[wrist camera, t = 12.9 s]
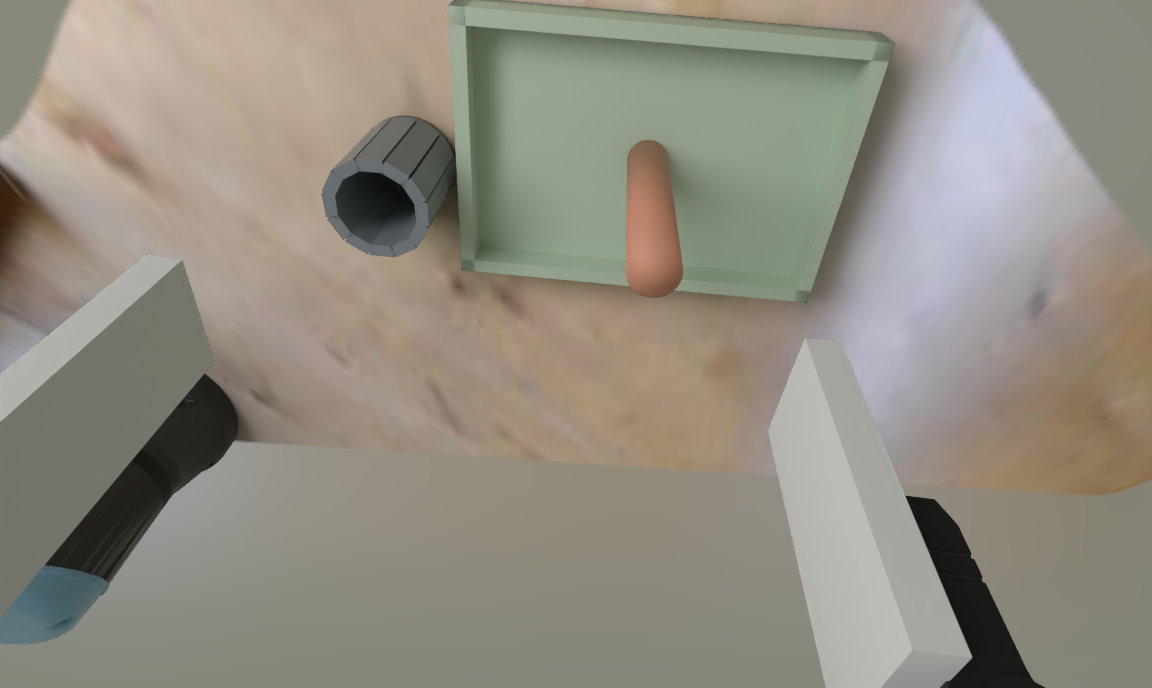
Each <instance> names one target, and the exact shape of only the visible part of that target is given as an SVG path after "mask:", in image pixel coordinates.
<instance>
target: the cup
mask: <svg viewBox="0 0 1152 688" xmlns="http://www.w3.org/2000/svg"><path fill="white" fill-rule="evenodd" d="M455 177H456V159H455V155H454V152H453V149H452V147H451V145H450V144H449V142H448V141H447V139H446V138H445V136H444V135H443V134H442V133H441V132H440V131H439V130H438V129H437V128H435V127H434V126H433V125H431V124H429V123H428V122H426V121H424V120H421V119H419V118H415V117H411V116H395V117H391V118H388V119H386V120H384V121H382V122H381V123H379V124H378V125H377V126H375V127H373V128H372V129H371V130H370V131H369V132H368V133H367V134H366V135H365V136H364V137H363V138H362V139H361V140H360V141H359V142H358V143H357V144H356V146H355V147H354V148H353V149H352V150H351V151H350V152H349V153H348V154H347V155H346V156H345V157H344V158H343V159H342V160H341V161H340V162H339V163H338V164H337V165H336V166H335V167H334V168H333V169H332V170H331V172H330V174H329V176H328V179H327V181H326V183H325V185H324V188H323V190H322V191H323V193H322V197H323V203H324V208H325V213H326V217H329V218H328V221H329V222H330V223H331V225H332V226H333V227H334V229H335V230H336V231H337V232H338V234H339V235H340V236H341V238H342V239H343V240H344V239H346V238H347V239H346V241H345V242H347V243H349V244H351V245H352V246H354V247H356V248H358V249H359V250H361V251H363V252H365V253H367V254H368V253H369V252H370V255H376V256H386V257H395V255H396V257H397V256H400V255H402V254H404V253H406V252H409V251H411V250H413V249H416V248H417V246H419V244H420V242H421V241H422V239H423V237H424V235H425V234H426V232H427V230H428V229H429V227H430V225H431V223H432V221H433V220H434V218H435V216H436V214H437V212H438V211H439V209H440V207H441V205H442V204H443V202H444V200H445V198H446V196H447V195H448V193H449V191H450V189H451V187H452V186H453V184H454V182H455Z"/></svg>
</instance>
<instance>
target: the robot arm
mask: <svg viewBox="0 0 1152 688" xmlns="http://www.w3.org/2000/svg"><path fill="white" fill-rule="evenodd" d="M213 362H214V358H213V355H212V352H211V349H210V345H209V342H208V339H207V336H206V333H205V330H204V327H203V323H202V320H201V317H200V314H199V311H198V308H197V305H196V301H195V298H194V295H193V292H192V289H191V286H190V283H189V279H188V276H187V273H186V270H185V267H184V264H183V261H182V260H180V259H172V258H165V257H157V256H149V255H145V256H144V257H143V258H142V259H141V260H139V261H138V262H137V263H136V264H134V265H133V266H132V267H131V268H130V269H128V270H127V271H126V272H125V273H123V274H122V275H121V276H120V277H119V278H117V279H116V280H115V281H114V282H112V283H111V284H110V285H109V286H108V287H106V288H105V289H104V290H103V291H101V292H100V293H99V294H98V295H96V296H95V297H94V298H93V299H92V300H90V301H89V302H88V303H87V304H85V305H84V306H83V307H82V308H81V309H79V310H78V311H77V312H76V313H74V314H73V315H72V316H71V317H70V318H68V319H67V320H66V321H65V322H63V323H62V324H61V325H60V326H58V327H57V328H56V329H55V330H54V331H52V332H51V333H50V334H49V335H47V336H46V337H45V338H44V339H43V340H41V341H40V342H39V343H38V344H36V345H35V346H34V347H33V348H32V349H30V350H29V351H28V352H27V353H25V354H24V355H23V356H22V357H21V358H19V359H18V360H17V361H16V362H14V363H13V364H12V365H11V366H9V367H8V368H7V369H6V370H5V371H3V372H2V373H1V374H0V643H2V644H33V643H39V642H44V641H49V640H52V639H55V638H57V637H59V636H61V635H63V634H65V633H67V632H68V631H69V630H70V629H72V628H73V627H74V626H75V625H76V624H77V623H78V622H79V621H80V619H81V618H82V617H83V616H84V615H85V613H86V612H87V611H88V610H89V608H90V607H91V606H92V604H94V602H95V601H96V600H97V599H98V597H99V596H101V595H103V594H104V593H105V592H106V590H107V589H108V587H109V583H110V582H111V581H112V579H113V578H114V576H115V575H116V574H117V572H118V571H119V569H120V568H121V566H122V565H123V564H124V562H125V561H126V559H127V558H128V557H129V555H130V554H131V552H132V551H133V550H134V548H135V546H136V545H137V544H138V542H139V541H140V540H141V538H142V537H143V535H144V534H145V533H146V531H147V530H148V528H149V527H150V526H151V524H152V522H153V521H154V520H155V518H156V517H157V516H158V514H159V513H160V511H161V510H162V509H163V507H164V506H165V505H166V503H167V502H168V500H169V499H170V498H171V496H172V495H173V494H174V493H176V492H177V491H178V490H180V489H181V488H182V487H184V486H185V485H186V484H187V483H189V482H190V481H191V480H192V479H193V478H195V477H196V476H197V475H198V474H200V473H201V472H202V471H205V470H207V469H209V468H210V467H212V466H213V465H215V464H216V463H217V462H218V461H219V460H220V459H221V458H222V457H223V456H224V454H225V453H226V451H227V450H228V449H229V447H230V446H231V444H232V443H233V441H234V440H235V437H236V434H237V428H238V425H237V418H236V415H235V412H234V410H233V408H232V406H231V404H230V402H229V400H228V399H227V398H226V396H225V395H224V394H223V392H222V391H221V390H220V389H219V388H218V387H217V386H216V385H215V384H214V383H213V382H212V381H211V380H210V379H208V378H207V377H206V376H205V375H203V374H204V373H205V372H206V371H207V370H208V368H209V367H210V366H211V365H212V364H213ZM768 433H769V437H770V442H771V446H772V451H773V455H774V460H775V464H776V469H777V473H778V477H779V481H780V486H781V491H782V495H783V500H784V504H785V509H786V513H787V517H788V522H789V526H790V531H791V535H792V540H793V544H794V548H795V553H796V557H797V562H798V566H799V571H800V575H801V579H802V584H803V589H804V593H805V597H806V602H807V606H808V611H809V615H810V620H811V624H812V629H813V633H814V637H815V642H816V646H817V651H818V655H819V660H820V663H821V669H822V673H823V677H824V682H825V686H826V688H1045V687H1043V686H1041V685H1039V684H1037V683H1036V682H1034V681H1033V679H1032V678H1031V676H1030V674H1029V672H1028V671H1027V669H1026V667H1025V665H1024V663H1023V661H1022V659H1021V657H1020V654H1019V652H1018V650H1017V648H1016V646H1015V644H1014V642H1013V640H1012V638H1011V636H1010V633H1009V631H1008V629H1007V627H1006V625H1005V623H1004V621H1003V619H1002V617H1001V615H1000V613H999V610H998V608H997V606H996V604H995V602H994V600H993V598H992V596H991V594H990V591H989V589H988V587H987V585H986V584H985V583H983V582H982V575H981V573H980V570H979V568H978V566H977V564H976V562H975V560H974V559H971V552H970V549H969V548H968V545H967V543H966V542H965V539H964V537H963V535H962V533H961V531H960V528H959V526H958V525H957V524H956V523H955V522H954V520H953V519H952V518H951V517H950V516H949V515H948V514H947V513H946V511H945V510H944V509H943V508H942V507H941V506H940V505H939V504H938V503H937V502H936V501H935V499H927V498H920V497H911V496H905V494H904V492H903V490H902V487H901V485H900V482H899V480H898V477H897V475H896V473H895V470H894V468H893V465H892V463H891V461H890V458H889V456H888V453H887V451H886V449H885V446H884V444H883V441H882V439H881V437H880V434H879V432H878V429H877V427H876V425H875V422H874V420H873V417H872V415H871V413H870V410H869V408H868V405H867V403H866V400H865V398H864V396H863V393H862V391H861V388H860V386H859V384H858V381H857V379H856V376H855V374H854V372H853V369H852V367H851V364H850V362H849V360H848V357H847V355H846V352H845V350H844V348H843V345H842V343H841V342H833V341H825V340H817V339H809V338H805V339H804V342H803V344H802V347H801V349H800V352H799V354H798V357H797V359H796V362H795V364H794V367H793V369H792V372H791V374H790V377H789V379H788V382H787V384H786V387H785V389H784V392H783V394H782V397H781V399H780V402H779V404H778V407H777V409H776V412H775V414H774V417H773V419H772V422H771V424H770V427H769V430H768Z"/></svg>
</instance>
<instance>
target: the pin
mask: <svg viewBox="0 0 1152 688" xmlns="http://www.w3.org/2000/svg"><path fill="white" fill-rule="evenodd" d="M682 277H683V264H682V256H681V249H680V242H679V235H678V227H677V220H676V213H675V206H674V198H673V191H672V184H671V176H670V169H669V162H668V155H667V152H666V150H665V148H664V147H663V146H662V145H661V144H660V143H658V142H656V141H653V140H643V141H640V142H638V143H636V144H635V145H634V146H633V147H632V148H631V150H630V151H629V153H628V157H627V206H626V279H627V282H628V284H629V286H630V287H631V288H632V289H633V290H634V291H635V292H636V293H638V294H640V295H642V296H646V297H653V298H654V297H662V296H665V295H667V294H669V293H671V292H672V291H674V290H675V289H676V288H677V287H678V286H679V284H680V282H681V280H682Z"/></svg>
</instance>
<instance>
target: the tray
mask: <svg viewBox="0 0 1152 688" xmlns="http://www.w3.org/2000/svg"><path fill="white" fill-rule="evenodd" d="M448 19H449V38H450V57H451V76H452V95H453V113H454V132H455V151H456V170H457V189H458V208H459V227H460V246H461V265H462V270H464V271H474V272H485V273H496V274H506V275H517V276H527V277H538V278H549V279H559V280H570V281H580V282H591V283H602V284H612V285H623V286H629V284H628V282H627V279H626V206H627V157H628V153H629V151H630V150H631V148H632V147H633V146H634V145H635V144H636V143H638V142H640V141H643V140H653V141H656V142H658V143H660V144H661V145H662V146H663V147H664V148H665V150H666V152H667V155H668V162H669V169H670V176H671V184H672V191H673V198H674V206H675V213H676V220H677V227H678V235H679V242H680V249H681V256H682V264H683V277H682V280H681V282H680V284H679V286H678V287H677V288H676V289H675V290H676V291H686V292H697V293H708V294H718V295H729V296H739V297H750V298H761V299H771V300H782V301H792V302H803V303H807V301H808V298H809V296H810V293H811V290H812V287H813V284H814V281H815V278H816V275H817V272H818V269H819V266H820V263H821V260H822V257H823V254H824V251H825V248H826V246H827V243H828V240H829V237H830V234H831V231H832V228H833V225H834V222H835V219H836V216H837V213H838V210H839V207H840V204H841V201H842V199H843V196H844V193H845V190H846V187H847V184H848V181H849V178H850V175H851V172H852V169H853V166H854V163H855V160H856V157H857V154H858V151H859V149H860V146H861V143H862V140H863V137H864V134H865V131H866V128H867V125H868V122H869V119H870V116H871V113H872V110H873V107H874V104H875V102H876V99H877V96H878V93H879V90H880V87H881V84H882V81H883V78H884V75H885V72H886V69H887V66H888V63H889V60H890V57H891V54H892V52H893V49H894V46H895V43H894V42H892V41H891V40H890V39H888V38H887V37H886V36H884V35H883V34H882V33H880V32H869V31H857V30H845V29H833V28H822V27H810V26H798V25H786V24H774V23H763V22H751V21H739V20H727V19H716V18H704V17H692V16H680V15H669V14H657V13H645V12H633V11H621V10H610V9H598V8H586V7H574V6H563V5H551V4H539V3H527V2H516V1H504V0H454V1H453V2H451V3H450V4H449V5H448Z"/></svg>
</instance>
